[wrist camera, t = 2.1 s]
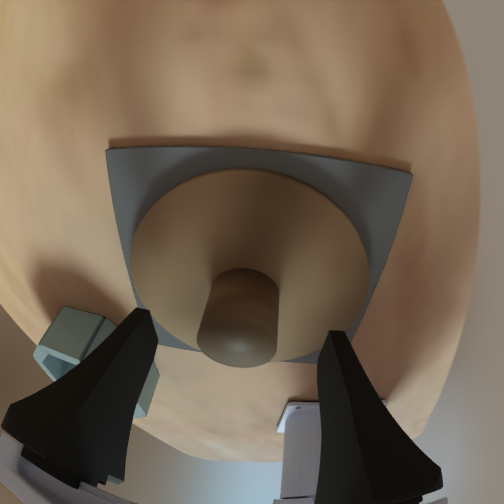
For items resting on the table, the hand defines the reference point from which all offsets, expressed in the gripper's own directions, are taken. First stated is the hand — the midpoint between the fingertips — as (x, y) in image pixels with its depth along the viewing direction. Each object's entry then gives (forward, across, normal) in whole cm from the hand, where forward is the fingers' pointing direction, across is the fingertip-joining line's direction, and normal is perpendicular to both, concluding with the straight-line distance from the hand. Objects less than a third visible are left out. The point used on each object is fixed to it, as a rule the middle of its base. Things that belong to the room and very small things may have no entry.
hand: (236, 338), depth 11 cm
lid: (+3, 0, 0) cm, 4 cm away
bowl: (+4, +12, +10) cm, 16 cm away
